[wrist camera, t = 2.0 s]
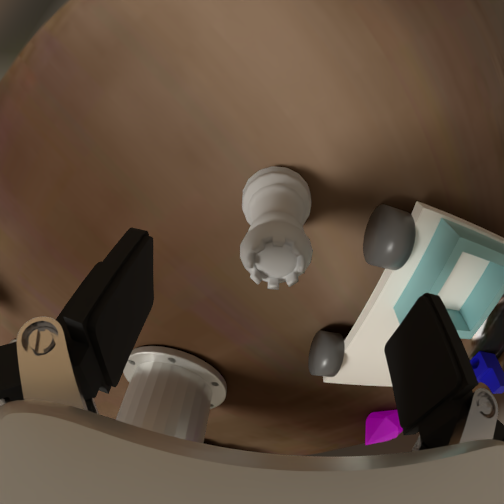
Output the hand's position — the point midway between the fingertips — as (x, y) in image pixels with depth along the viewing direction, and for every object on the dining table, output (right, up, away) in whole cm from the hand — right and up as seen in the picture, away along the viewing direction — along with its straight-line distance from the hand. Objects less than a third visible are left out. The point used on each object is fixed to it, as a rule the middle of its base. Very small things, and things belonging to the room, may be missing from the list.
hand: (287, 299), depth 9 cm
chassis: (+13, -3, +13) cm, 19 cm away
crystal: (+18, -22, +25) cm, 38 cm away
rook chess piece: (0, +5, +10) cm, 11 cm away
